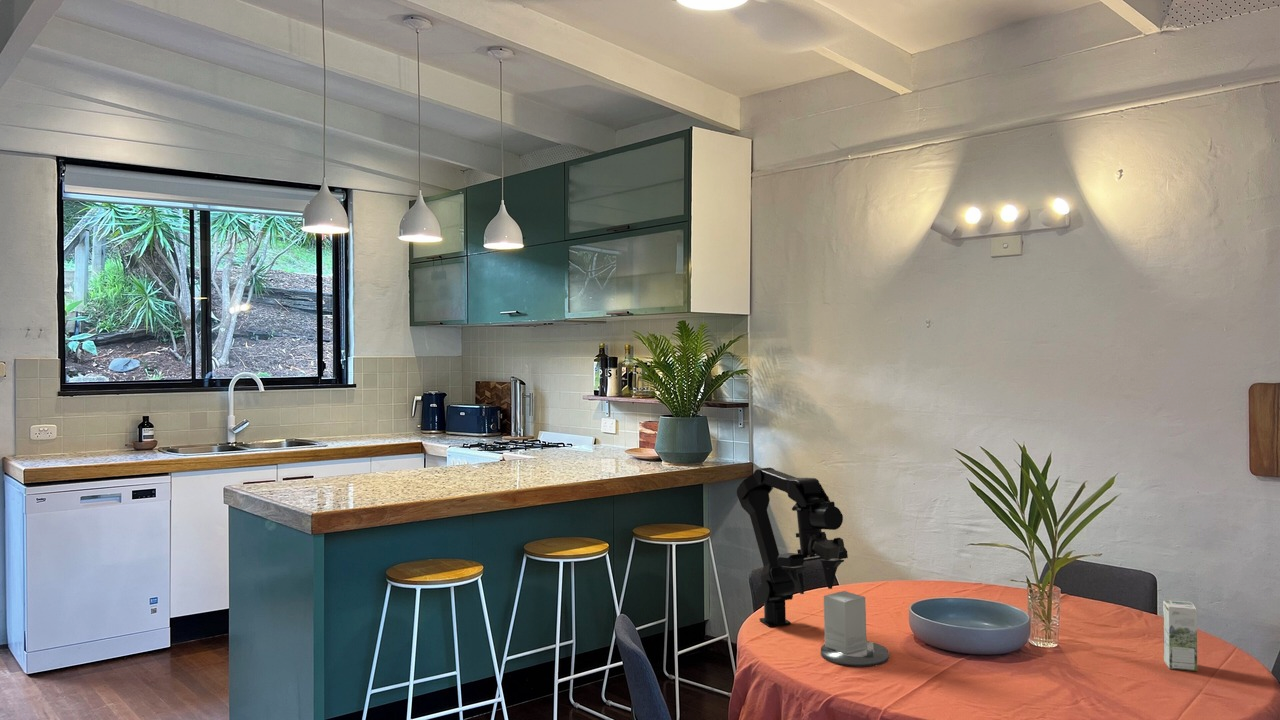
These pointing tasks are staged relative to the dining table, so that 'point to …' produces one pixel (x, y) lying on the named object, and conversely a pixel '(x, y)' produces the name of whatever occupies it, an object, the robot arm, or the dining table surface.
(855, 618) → the supplement box
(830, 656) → the base plate
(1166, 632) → the syrup box
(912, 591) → the dining table surface
